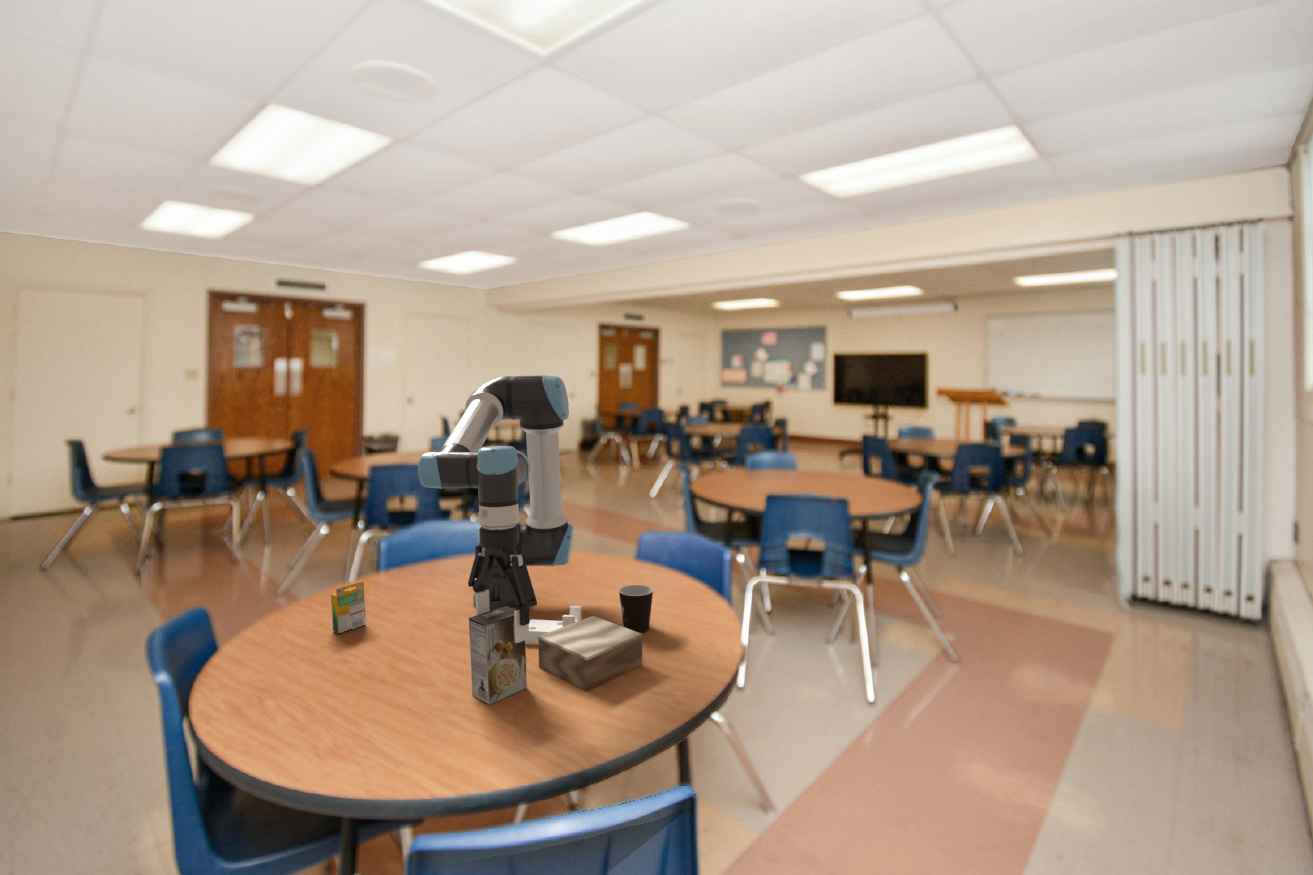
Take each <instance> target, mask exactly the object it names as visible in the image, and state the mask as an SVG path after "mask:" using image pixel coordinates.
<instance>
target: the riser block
mask: <svg viewBox="0 0 1313 875" xmlns="http://www.w3.org/2000/svg"><path fill="white" fill-rule="evenodd" d="M642 665H643V633H638V632H636V631H633V630H630V629H628V628H625V627H624V626H623V625H619V624H616V623H613V622H612V621H608V620H605V619H603V618H600V617H597V616H595V615H592V616H590V617H587V618H584V619H581V621H578V622H575V623H573V624H570V625H567V626H565V627H562V628H559V629H556V630H554V631H551V632H548V633H545V634H543V635H540V636H538V667H539V669H542V670H543V671H546V672H548V673H550V674H552V675H554V676H556V677H558V678H560V679H562V680H564V681H565V682H568V683H570V684H572V685H574V686H576V687H578V688H580V689H583V690H584V691H586V692H589V691H591V690H593V689H594V688H596V687H599V686H600V685H603V684H605V683H608V682H609V681H611V680H613V679H616V678H618V677H619V676H622V675H624V674H626V673H628V672H630V671H632V670H634V669H636V668H638V667H641V666H642Z"/></svg>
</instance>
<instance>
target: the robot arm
mask: <svg viewBox="0 0 1313 875" xmlns="http://www.w3.org/2000/svg"><path fill="white" fill-rule="evenodd" d="M569 406H570V405H569V398H568V393H567V389H566V385H565V382H564V380H563V379H562V378H561V377H559V376H556V375H555V376H554V375H553V376H552V375H545V374H544V375H515V376H512V375H504V376H500V377H499V376H498V377H496V378H493V379H491V380H490V381H486V382H485V383H483V384H482V385H480V386H479V387H478V388H476V389H475V390H474V391H473V392H471V394H470V395H469V397H468V399H467V400H466V402H465V408H464V409H465V411H464V412H463V414H462V415H461V417H460V418H459V420H458V422H457V423H456V425H455V427H454V428H453V429H452V431H451V432H450V434H449V435H448V437H447V439H446V441H445V442H444V444H442V447H441V448H440V449H439V451H438V452H437V451H432V452H425V453H423V454H422V455H421V456H420V458H419V460H418V465H417V475H418V481H419V482H420V484H421V486H422V487H424V488H429V489H439V490H442V489H470V488H471V489H477V490H478V511H479V512H477V513H478V518H479V519H478V520H479V521H478V522H479V525H480V527H479V529H478V532H477V541H476V542H477V545H476V546H475V549H474V550H475V551H474V552H475V555H474V558H473V563H472V567H471V571H470V572H469V573H470V574H469V577H468V581H467V584H468V587H469V588H472V590H473V592H474V593H473V596H472V598H473V602H472V603H473V606H474V608H475V616H476V615H479V614H482V613H486V612H489V611H492V610H495V609H498V608H501V607H504V606H508V607H510V608H514V622H515V642H516V643H519V642H522V641H525V640H527V639H529V622H530V620H531V619H530V607H531V608H532V607H534V606H537V605H538V600H537V598H536V594H535V590H534V587H533V584H532V580H531V576H530V574H529V570H528V567H555V566H556V567H557V566H564V565H566V564H568V563H569V561H570V558H571V553H572V548H573V542H574V541H573V540H574V527H575V526H574V525H573V524H571V523H569V522H568V521H569V520H568V516H567V515H566V514H564V512H562V511H563V509H562V487H561V465H560V464H561V463H560V462H561V461H560V443H559V442H560V440H559V431H561V429H562V428H563V427H564V425H565V424H564V421H566V420H567V419H568V418H569V416H570V415H569V414H570V408H569ZM504 420H513V421H514V420H515V421H517V420H518V421H519V427H520V429H521V430H523V431H524V432H525V437H526V452H527V456H526V455H525V454H524V453H523V452H522V451H519V450H517V449H516V448H515V447H514V446H512V445H511V446H510V445H493V446H491V445H489V446H483V445H484V444H485V442H486V440H487V439H488V436H489V434H490V432H491V430H492V428H493V427H494V426H496V425H497V424H498V423H500V421H504ZM527 478H528V486H529V487H528V488H529V490H528V491H529V506H530V507H529V508H530V515H529V516H528V517H527V518H526V519H525V524H521V521H520V511H519V492H518V491H519V486H520V485H523V484H524V483H525V481H526V480H527Z"/></svg>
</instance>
